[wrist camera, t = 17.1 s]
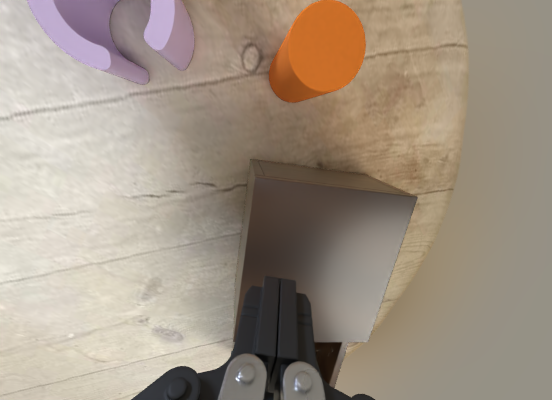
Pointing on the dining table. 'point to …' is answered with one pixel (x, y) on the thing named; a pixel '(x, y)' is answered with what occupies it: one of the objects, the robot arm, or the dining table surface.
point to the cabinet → (322, 242)
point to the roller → (318, 52)
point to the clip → (97, 38)
